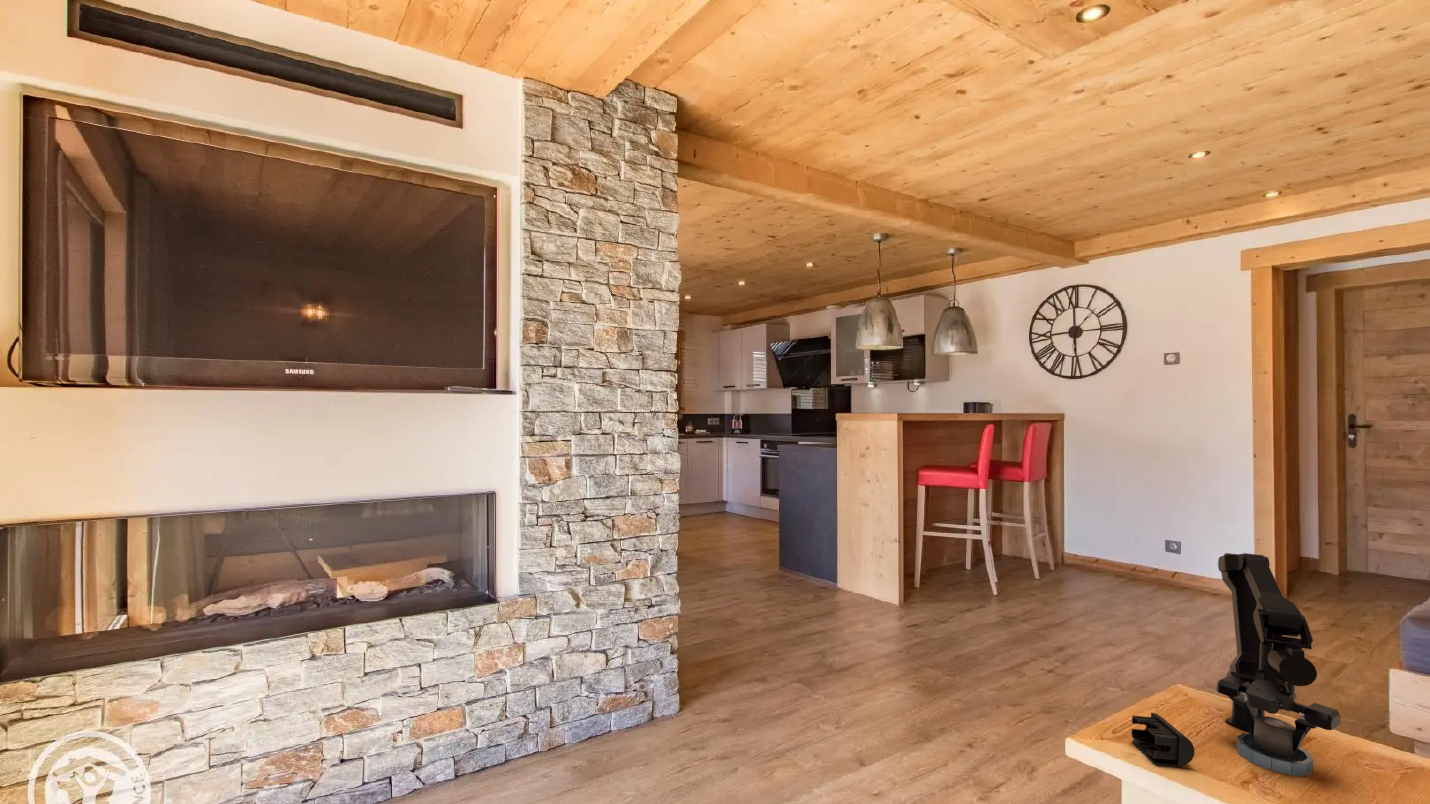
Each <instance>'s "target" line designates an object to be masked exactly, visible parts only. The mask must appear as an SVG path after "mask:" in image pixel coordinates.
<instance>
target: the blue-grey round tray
mask: <svg viewBox="0 0 1430 804" xmlns="http://www.w3.org/2000/svg"><path fill="white" fill-rule="evenodd" d="M1253 739H1254V735H1252V734H1251V732H1250V733H1249V732H1242V733H1241V734H1239V735H1236V750H1237V752H1238V754H1239V756H1241V757H1243V758H1244V759H1245V760H1247V761H1248V762H1250V763H1251V764H1254V765H1256V766H1258V767H1261V768H1263V769H1265V770H1267V771H1270V772H1273V773H1279V774H1283V775H1288V776H1292V777H1307V776H1310V775H1311V774H1312V773H1313V772H1314V758H1313V757H1312V755H1311V754H1310V753H1309V752H1308V751H1307V750H1305V749H1303V748H1301V746H1300V747H1299V748H1298V750H1297V751H1295V755H1293V756H1281V755H1277V754H1273V753H1270V752H1267V751H1265V750H1263V749H1261V748H1259V747H1257V746H1256V745H1255V744H1254V743H1253Z"/></svg>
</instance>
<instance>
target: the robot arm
mask: <svg viewBox="0 0 1430 804" xmlns="http://www.w3.org/2000/svg"><path fill="white" fill-rule="evenodd" d="M1217 567H1218V571H1219V572H1220V573H1221V579H1222V581H1223V583H1224V584H1225V585H1226V587H1227V588H1228V589H1229V591H1231V597H1232V598H1231V600H1232V609H1233V610H1232V611H1233V623H1234V632H1235V633H1234V634H1235V644H1236V645H1235V646H1236V656H1235V657H1234V659H1233V660H1232V662H1230V664H1229V671H1228V672H1227V674H1226V676H1225V677H1224V678H1220V679H1219V680H1218V681H1217V682H1216V683H1217V684H1216V692H1217V693H1218V694H1221V695H1224V696H1227V697H1228V699H1230V700H1231V702H1232V704H1231V706H1232V707H1231V716H1230V717H1228V718H1226V719H1225V720H1224V722H1225V723H1226V724H1228V725H1231V726H1234V727H1237V728H1239V729H1242V730H1245V731H1247V732H1250V733H1251V734H1252V735H1254V718H1255V717H1256V716H1265V712H1266V713H1268V714H1271V715H1276V714H1278V713H1279V711H1283V710H1284V711H1285V712H1286V711H1287V712H1294V713H1296V714H1298V715H1299V717H1298V718H1297V719H1295V720H1294V725H1295V726H1294V727H1295V734H1294V740H1293V750H1294V751H1297V750H1298V748H1299V747H1300V748H1301V745H1302V743H1303V742H1304V740H1305V738H1306V737H1307V735H1308V734H1309V733H1310V731H1311V730H1312V729H1313V730H1314V729H1316V728H1320V729H1323V730H1326V731H1333V730H1334V729H1337V727H1339V726H1341V722H1342V721H1341V719H1342V717H1341V714H1340V712H1339V711H1338V710H1337V709H1336V708H1332V707H1329V706H1327V705H1326V706H1325V705H1323V704H1320V703H1316V702H1313V703H1312V704H1310V705H1306V704H1302V703H1300V702H1296V701H1295V700H1297V693H1296V687H1306V686H1307V687H1308V686H1309V685H1312V684H1313V683H1314V682H1315V681H1316V680H1317V676H1318V671H1317V669H1316V666H1315V665H1314V663H1313V662H1312V661H1310V660H1309V659H1308V658H1307V657H1306V656H1305V650H1303V649H1306V650H1312V648H1313V647H1312V644H1313V641H1314V639H1313V636H1312V633H1311V630H1310V627H1309V624H1308V621H1307V619H1306V616H1305V615H1303V614H1302V612H1301V611H1300V609H1299V608H1298V606H1297V605H1296V603H1294V602H1293V601H1291V600H1289V599H1288V598H1286V597H1285V596H1284V595H1283V593H1282V591H1281V589H1280V587H1279V585H1278V582H1277V580H1276V578H1275V576H1274V574H1273V571H1272V570H1271V568H1270V559H1269V557H1268V556H1265V555H1264V554H1256V553H1255V554H1254V553H1249V552H1248V553H1246V552H1243V553H1239V554H1237V553H1229V552H1228V553H1227V552H1225V553H1224V554H1223V555H1221V556H1219V557H1218V560H1217Z"/></svg>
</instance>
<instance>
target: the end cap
mask: <svg viewBox="0 0 1430 804" xmlns="http://www.w3.org/2000/svg"><path fill="white" fill-rule="evenodd" d="M1131 724H1133V725H1144V726H1145V728H1144V729H1138V728H1131V735H1130V736H1131V738H1132V741H1131V743H1132V745H1133V746H1134V747H1135V749H1137V750H1138V751H1139V752H1140V751H1141V752H1140V753H1141V754H1142V753H1143V754H1144V755H1145V756H1146V757H1147V758H1146V757H1145V756H1144V755H1143V754H1142V755H1143V756H1144V757H1145V758H1146V759H1147V760H1148V761H1150V762H1151V761H1152V762H1151V764H1152V765H1154V764H1155V765H1156V767H1159V768H1160V767H1161V768H1162V767H1163V768H1173V769H1180V768H1181V767H1182V766H1183V767H1184V766H1186V765H1188V764H1190V762H1192V760H1193V758H1194V757H1195V747H1194V744H1193V743H1192V741H1191V740H1190V739H1189V738H1188V737H1186V736H1185V735H1184V734H1183V733H1182V732H1180V731H1179V730H1178V729H1177V728H1175V727H1174V725H1172V724H1171V723H1170V722H1168V721H1167V720H1166V719H1165V718H1164V717H1162V716H1161V715H1159V714H1158V713H1155V712H1151V713H1150V716H1144V715H1132V717H1131ZM1155 765H1154V766H1155Z"/></svg>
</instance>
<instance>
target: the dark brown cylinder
mask: <svg viewBox="0 0 1430 804" xmlns="http://www.w3.org/2000/svg"><path fill="white" fill-rule="evenodd" d="M1295 728H1296V726H1294V725H1293V724H1291V723H1289V722H1287V721H1285V720H1282V719H1280V718H1275V717H1271V716H1266V715H1264V716H1256V717H1255V718H1254V739H1253V743H1254V744H1255V745H1256V746H1257V747H1259V748H1261V749H1263V750H1265V751H1267V752H1270V753H1273V754H1277V755H1281V756H1293V755H1295V751H1294V750H1293V740H1294V734H1295Z"/></svg>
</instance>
